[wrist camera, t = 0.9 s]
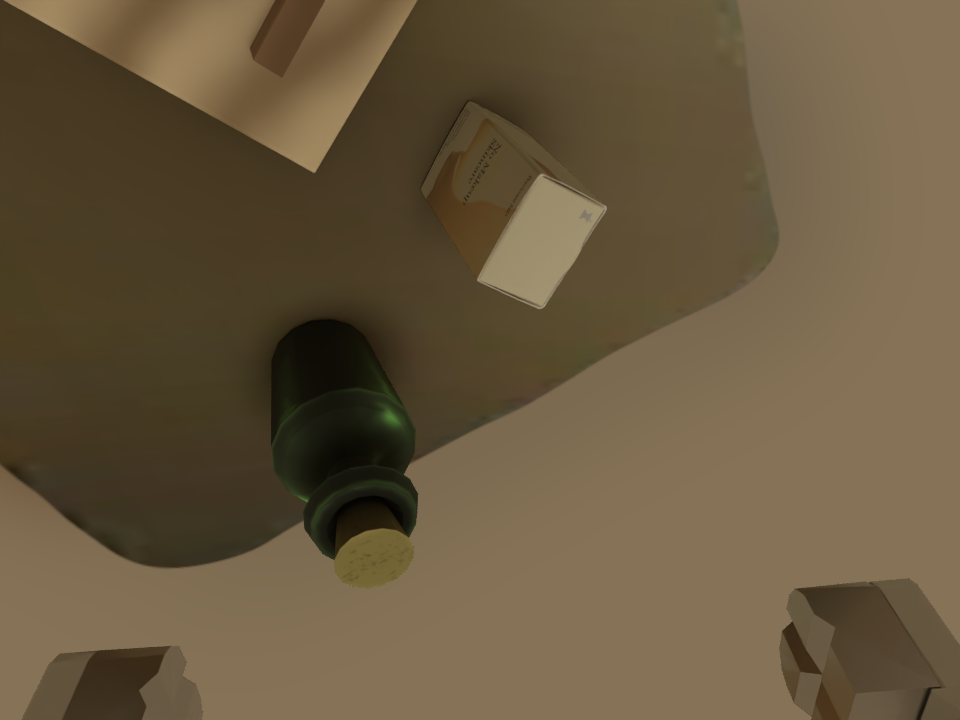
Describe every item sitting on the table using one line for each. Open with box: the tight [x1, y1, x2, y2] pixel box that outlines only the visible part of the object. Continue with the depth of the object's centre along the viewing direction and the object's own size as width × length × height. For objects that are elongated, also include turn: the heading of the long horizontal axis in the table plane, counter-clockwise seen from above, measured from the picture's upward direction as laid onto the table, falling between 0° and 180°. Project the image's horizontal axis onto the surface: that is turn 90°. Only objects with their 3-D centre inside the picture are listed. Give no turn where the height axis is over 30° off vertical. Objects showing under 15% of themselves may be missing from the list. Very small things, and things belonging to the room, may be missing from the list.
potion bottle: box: [271, 320, 418, 588], centre depth 44 cm, size 8×8×18 cm
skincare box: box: [421, 101, 607, 309], centre depth 43 cm, size 6×4×12 cm
